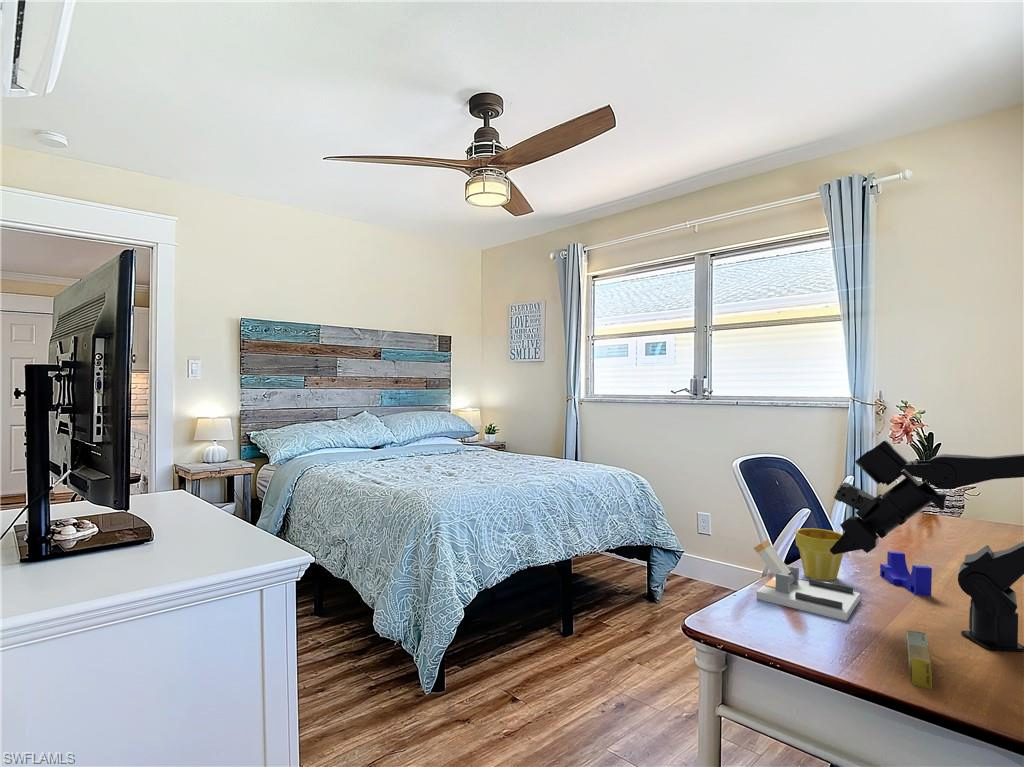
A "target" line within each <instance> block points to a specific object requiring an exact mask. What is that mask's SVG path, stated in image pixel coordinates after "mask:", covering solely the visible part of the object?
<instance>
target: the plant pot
mask: <svg viewBox="0 0 1024 767" xmlns="http://www.w3.org/2000/svg"><path fill="white" fill-rule="evenodd" d="M843 534H844V533H841V532H838V531H835V530H834V531H833V530H830V529H829V530H828V529H823V528H822V529H821V528H814V527H813V528H810V527H806V528H798V529H796V531H795V546H796V547H797V548H798V550H799V555H800V560H801V566H802V569H803V575H805V576H806V577H808V578H809V579H815V580H820V581H824V582H832V581H835V580H837V578H838V575H839V572H840V567H841V564H842V560H843V558H844V557H843V556H844V555H845V553H847V552H845V553H840V554H835V555H833V554H832V553H831V552H830V549H831V548H832V547H833V545H834V544H835V543H836V542H837V541H838V540H839V539H840V537H841V536H842V535H843Z"/></svg>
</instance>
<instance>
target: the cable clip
mask: <svg viewBox="0 0 1024 767" xmlns="http://www.w3.org/2000/svg"><path fill="white" fill-rule="evenodd" d="M879 566H880V567H879V577H881V578H883V579H884V580H886V581H887V582H888V583H890V584H891V585H893V586H901V587H903V588H905V589H906V590H907V591H908V592H910V593H912V594H913V595H915V596H926V597H928V596H929V597H932V585H933V584H932V581H933V580H932V579H933V576H932V575H933V573H932V572H933V567H930V566H928V565H917V564H912V565H911V566H912V568H911V572H910V570H909V568H908V565H907V560H906V553H904V552H902V551H892V550H891V551H890V550H888V551H887V563H880V564H879Z"/></svg>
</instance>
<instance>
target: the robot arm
mask: <svg viewBox="0 0 1024 767" xmlns="http://www.w3.org/2000/svg"><path fill="white" fill-rule="evenodd" d="M854 463H855V464H856V465H857V466H858V467H859V468H860V469H861V470H862V471H863V472H864V473H865V474H867V476H868V477H869V478H871V480H873V482H874V483H875V484H876V485H879V484H882V485H886V486H887V487H888V486H889V485H891V484H892V483H894V482H895V481H897V479H899V478H900V477H902V476H903V477H904V478H903V479H902V480H901V481H899V482H898V483H896V484H895V485H894V486H892V487H891V488H889V489H888V490H886V491H885V492H884V493H883V494H881V493H880V494H878V495H877V496H876V497H875V496H874V495H871V494H869V493H868V492H867V491H864V490H862V489H860V488H859V487H856V486H854V484H853V485H852V484H850V483H849V482H845V481H844V482H842V483H841V484H840V485H839V487H838V489H837V491H836V492H835V495H834V496H833V498H834V500H836V501H838V502H839V503H843V504H845V505H847V506H849V507H852V508H853V509H855V510H857V511H855V514H856V515H857V516H854V515H851V516H850V517H848V518H847V519H846V520H844V521H843V522H841V523H840V524H839V526H840V527H841V529H842V530H843V531H844V533H842V534H843V535H842V536H841V537H840V539H839V540H838V541H837V542H836V543H835V544H834V545H833V547H832V548H831V549H830V552H831V553H832V554H833V555H835V554H840V553H844V554H845V552H846V553H851V552H854V551H860V550H863V552H865V553H866V554H868V553H870V552H871V551H872V550H874V549H876V548H877V546H878V545H879V543H880V542H879V541H880V538H881V539H884V537H885V538H886V536H887V535H888V534H889V533H891V532H892V531H894V530H895V529H896V528H898V527H899V526H902V525H903V524H905V523H906V522H907V521H908V520H910V519H911V518H913V517H914V516H915V515H916V514H918V513H919V512H921V511H923V510H924V509H925V508H927V507H928V506H930V505H931V504H932V503H933V504H934V505H935V506H936V507H937V508H938V509H939V510H941V511H944V510H945V509H946V507H947V506H946V498H947V496H948V494H947V493H946V492H945V493H944V492H938V491H937V490H936V489H935V488H937V489H939V490H940V489H941V490H953V489H957V488H962V487H967V486H971V485H975V484H979V483H982V482H987V481H993V480H1002V479H1016V478H1018V479H1019V478H1024V453H1019V454H1007V455H996V456H995V455H994V456H979V455H978V456H977V455H966V454H947V453H946V454H945V453H942V454H938V455H935V456H933V457H931V458H930V459H928V460H916V459H914V460H910V461H908V460H907V459H906V458H905V457H904V456H903V455H901V454H900V453H899V452H898V451H897V450H896V449H895V448H894V446H893V445H892V444H891V443H890V442H889V441H888V440H883V441H882V442H880V443H879V444H878V445H876V446H875V447H873V448H872V449H870V450H868V451H866V452H865V453H863V454H862V455H860V457H859V458H857V459H856V460H855V461H854ZM916 478H919V479H923V480H924V481H923V482H920V481H919V480H917V479H916ZM931 485H932V486H931ZM933 486H934V487H935V488H933ZM1023 576H1024V541H1022V542H1020V543H1017V544H1015V545H1013V546H1012V547H1009V548H1006V549H1003V550H998V551H993V550H992V549H991V546H989V544H988V545H985V546H983V547H982V548H981V549H979V550H978V551H977V552H974V553H972V554H971V553H970V554H965V556H964V561H962V563H961V564H960V565H959V569H958V574H957V582H958V586H959V588H960V589H961V590H962V591H963V592H964V593H965V594H966V595H967V596H969V597H970V606H969V619H968V620H969V622H968V623H969V624H968V629H969V630H961V631H960V634H961V635H963V636H965V637H966V638H968V639H969V640H971V641H973V642H974V643H977V644H978V645H980V646H981V647H983V648H985V649H987V650H990V651H1013V652H1014V651H1015V652H1016V651H1017V652H1018V651H1019V652H1024V645H1023V644H1021V643H1019V613H1018V612H1017V608H1018V600H1017V592H1016V591H1015V590H1014V589H1012V587H1011V586H1012V585H1014V584H1015V583H1016V582H1017V581H1018V580H1019V579H1020V578H1022V577H1023Z"/></svg>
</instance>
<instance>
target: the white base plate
mask: <svg viewBox="0 0 1024 767" xmlns="http://www.w3.org/2000/svg"><path fill="white" fill-rule="evenodd" d="M786 566H787V567H788V568H789V570H790V571H791V572H790V573H792V574H794V576H795V580H794V581H793V582H792V583H791V584H790V575H786V574H782V573H776V578H775V576H773V577H772V578H770V579H769V581H767V582H766V583H765V584H764V585H763V586H761V587H760V588H759V589H757V590H756V597H755V598H756V600H760V601H764V602H768V603H772V604H776V605H780V606H784V607H788V608H792V609H796V610H801V611H804V612H809V613H812V614H818V615H821V616H825V617H829V618H833V619H838V620H841V621H846V622H847V621H848V619H849V617H850V616H851V614H852V612H854V610H855V608H856V606H858V604H859V602H860V600H861V593H860V592H858V591H854V589H855V588H854V587H852V586H848V585H843V584H838V583H834V582H830V581H824V580H817V579H813V578H809V579H808V581H806V580H803V579H799V578H800V577H799V576H800V575H799V574H800V570H799V569H800V567H799V566H794V565H789V564H786Z"/></svg>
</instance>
